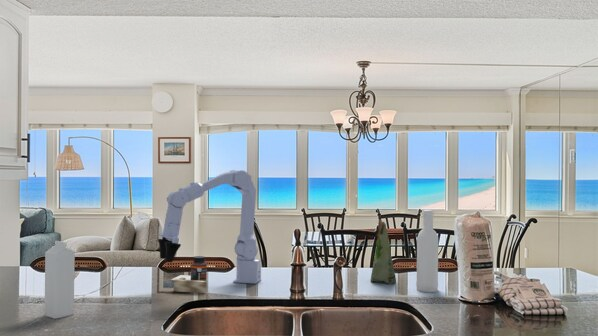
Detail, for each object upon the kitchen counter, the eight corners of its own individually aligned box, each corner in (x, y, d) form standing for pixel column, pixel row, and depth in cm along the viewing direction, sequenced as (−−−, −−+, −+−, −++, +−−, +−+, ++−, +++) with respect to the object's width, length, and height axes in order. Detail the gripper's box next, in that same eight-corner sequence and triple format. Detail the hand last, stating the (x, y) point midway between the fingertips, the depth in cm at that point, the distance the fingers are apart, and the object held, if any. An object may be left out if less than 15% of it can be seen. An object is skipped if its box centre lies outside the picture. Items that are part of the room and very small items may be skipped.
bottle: (439, 289, 197) (440, 210, 197) (435, 293, 190) (437, 211, 190) (418, 286, 200) (419, 209, 200) (414, 291, 193) (415, 210, 193)
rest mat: (201, 277, 211) (201, 276, 211) (192, 281, 203) (192, 280, 203) (180, 275, 213) (180, 275, 213) (171, 280, 204) (171, 279, 204)
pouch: (384, 286, 200) (385, 221, 200) (361, 281, 209) (362, 219, 209) (402, 282, 207) (403, 220, 207) (379, 277, 216) (380, 217, 216)
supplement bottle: (203, 289, 191) (203, 258, 191) (187, 288, 192) (188, 257, 192) (209, 285, 197) (209, 255, 197) (194, 284, 198) (194, 255, 198)
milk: (63, 311, 159) (64, 239, 159) (74, 314, 156) (75, 241, 156) (43, 315, 154) (45, 241, 155) (54, 319, 151) (55, 243, 151)
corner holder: (209, 290, 189) (210, 279, 189) (205, 293, 185) (205, 281, 185) (179, 288, 191) (179, 277, 191) (173, 291, 187) (173, 280, 187)
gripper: (156, 220, 195) (150, 256, 194) (167, 224, 183) (160, 262, 182) (174, 222, 199) (168, 257, 198) (186, 226, 186) (179, 264, 185)
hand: (165, 260), depth 190 cm, fingers open, 7 cm apart
